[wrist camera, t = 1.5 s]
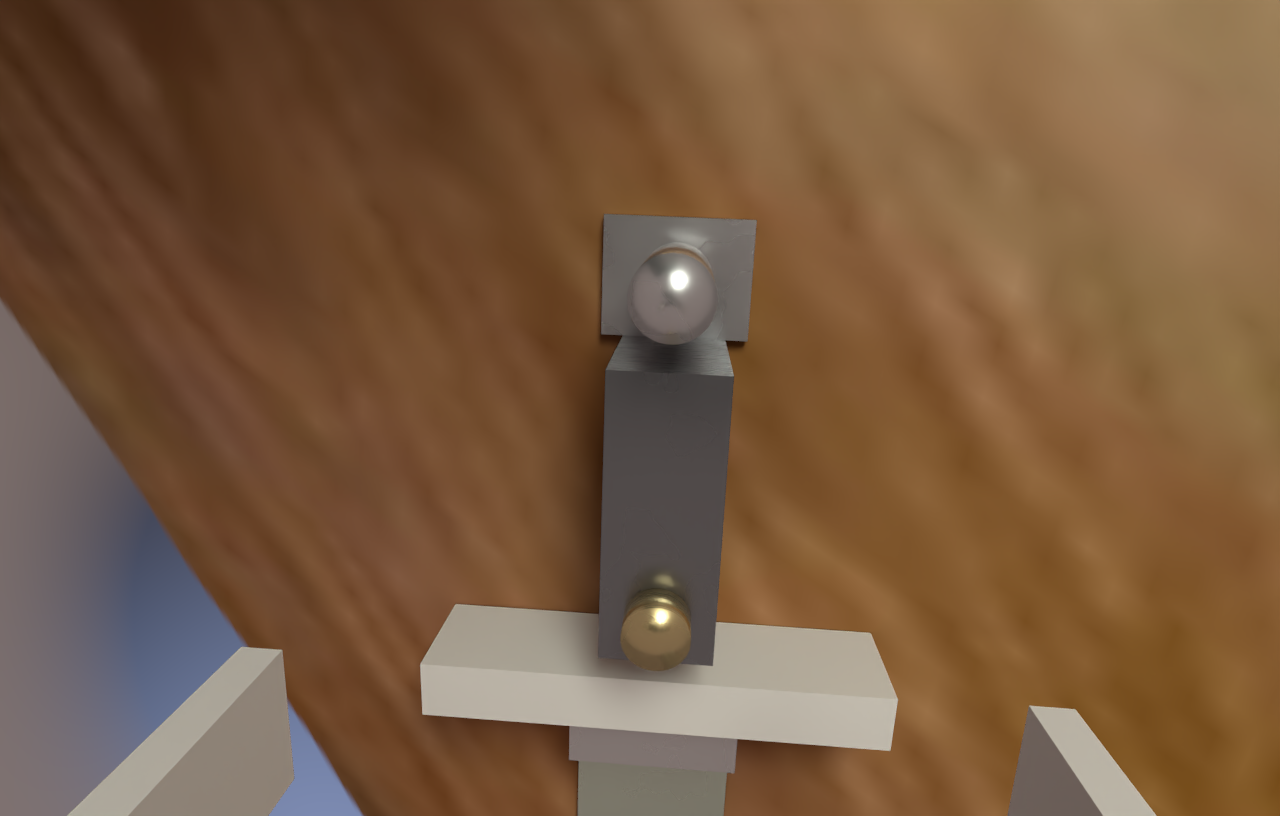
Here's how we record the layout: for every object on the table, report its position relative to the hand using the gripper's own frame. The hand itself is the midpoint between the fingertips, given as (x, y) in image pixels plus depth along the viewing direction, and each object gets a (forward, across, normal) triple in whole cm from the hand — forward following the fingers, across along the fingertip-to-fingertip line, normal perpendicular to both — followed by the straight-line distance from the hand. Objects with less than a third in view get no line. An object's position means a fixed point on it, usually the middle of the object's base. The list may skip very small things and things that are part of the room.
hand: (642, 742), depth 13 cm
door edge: (+15, 0, -7) cm, 16 cm away
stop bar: (+15, 0, 0) cm, 15 cm away
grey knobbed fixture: (+15, 0, +7) cm, 16 cm away
